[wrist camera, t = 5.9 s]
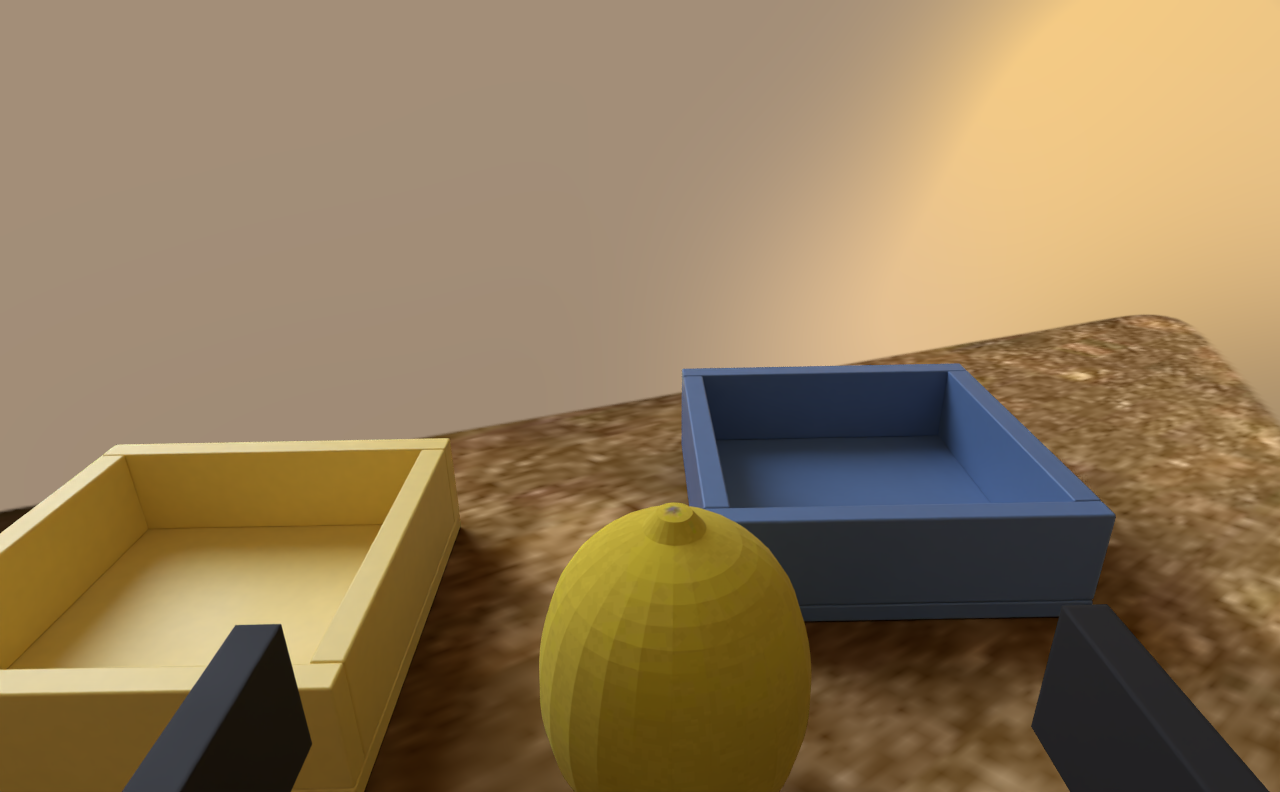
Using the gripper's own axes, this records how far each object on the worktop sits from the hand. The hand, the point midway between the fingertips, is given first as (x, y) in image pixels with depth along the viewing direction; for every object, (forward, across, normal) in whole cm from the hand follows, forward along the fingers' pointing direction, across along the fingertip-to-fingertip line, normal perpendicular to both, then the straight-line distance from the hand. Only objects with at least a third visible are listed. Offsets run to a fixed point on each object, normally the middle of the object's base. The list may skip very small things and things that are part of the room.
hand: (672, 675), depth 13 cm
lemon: (+2, 0, -6) cm, 6 cm away
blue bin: (+14, +7, -6) cm, 17 cm away
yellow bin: (+8, -13, -6) cm, 16 cm away
